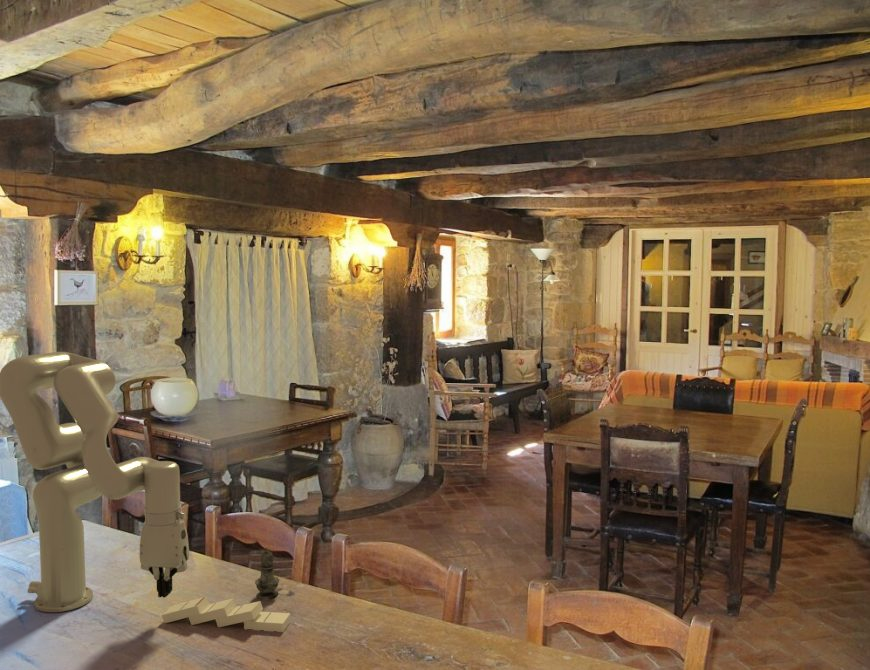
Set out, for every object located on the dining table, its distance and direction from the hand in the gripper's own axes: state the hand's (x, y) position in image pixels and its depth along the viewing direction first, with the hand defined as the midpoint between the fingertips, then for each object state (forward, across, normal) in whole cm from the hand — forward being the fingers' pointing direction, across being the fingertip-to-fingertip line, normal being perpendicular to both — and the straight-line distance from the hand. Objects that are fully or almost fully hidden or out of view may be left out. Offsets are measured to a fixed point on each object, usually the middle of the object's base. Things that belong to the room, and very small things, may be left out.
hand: (164, 594), depth 170 cm
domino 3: (+5, -14, 0) cm, 14 cm away
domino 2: (+5, -7, 0) cm, 9 cm away
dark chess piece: (+6, -19, -15) cm, 25 cm away
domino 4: (+5, -20, 0) cm, 20 cm away
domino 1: (+5, -1, 0) cm, 5 cm away
